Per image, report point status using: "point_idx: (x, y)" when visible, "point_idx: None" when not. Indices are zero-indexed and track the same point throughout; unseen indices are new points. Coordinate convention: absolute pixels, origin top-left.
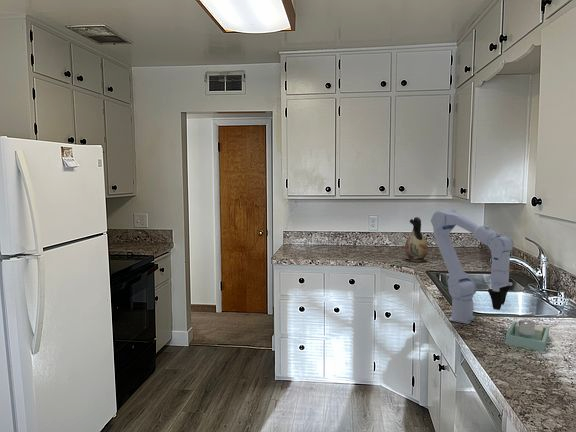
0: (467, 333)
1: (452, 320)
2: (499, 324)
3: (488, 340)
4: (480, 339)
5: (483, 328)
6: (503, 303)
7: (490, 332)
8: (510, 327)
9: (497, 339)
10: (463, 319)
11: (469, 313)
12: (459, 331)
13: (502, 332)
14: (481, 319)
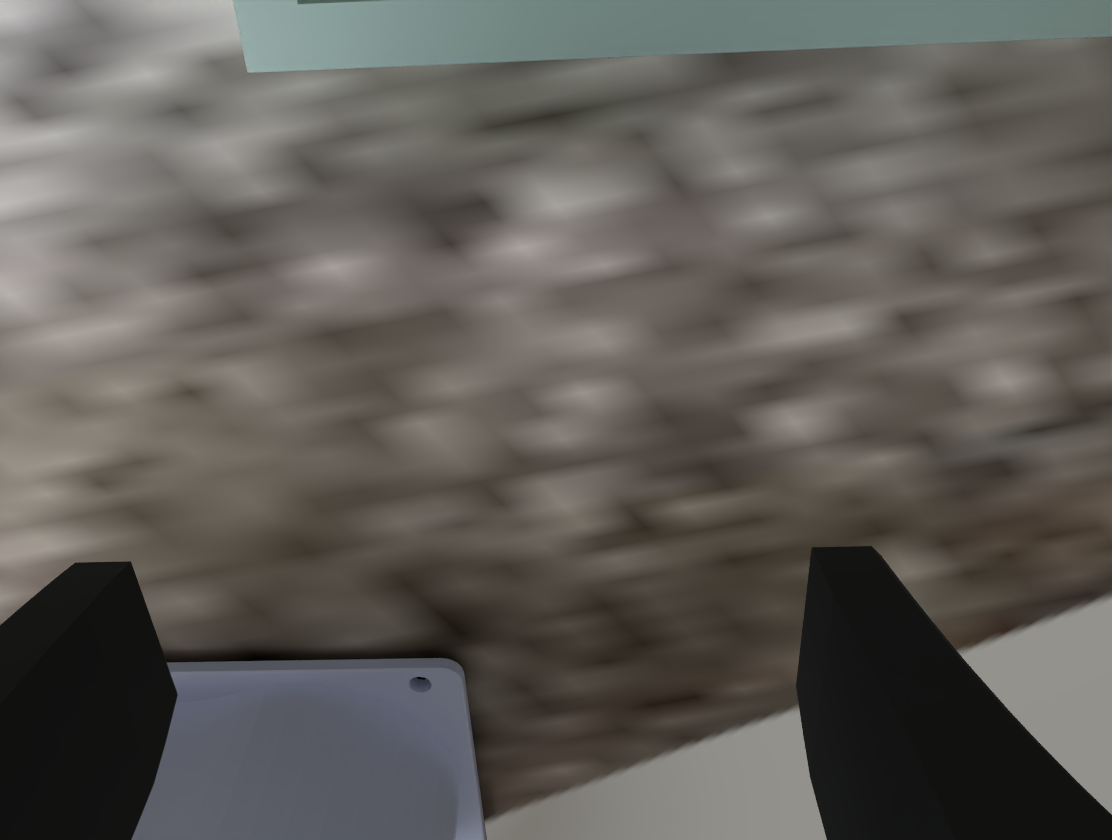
0: None
1: (485, 833)
2: (51, 315)
3: (1090, 291)
4: (1094, 401)
5: (489, 475)
6: (116, 595)
7: (626, 349)
8: (837, 35)
9: (959, 173)
10: (438, 769)
11: (334, 804)
12: None
13: (482, 178)
14: None
